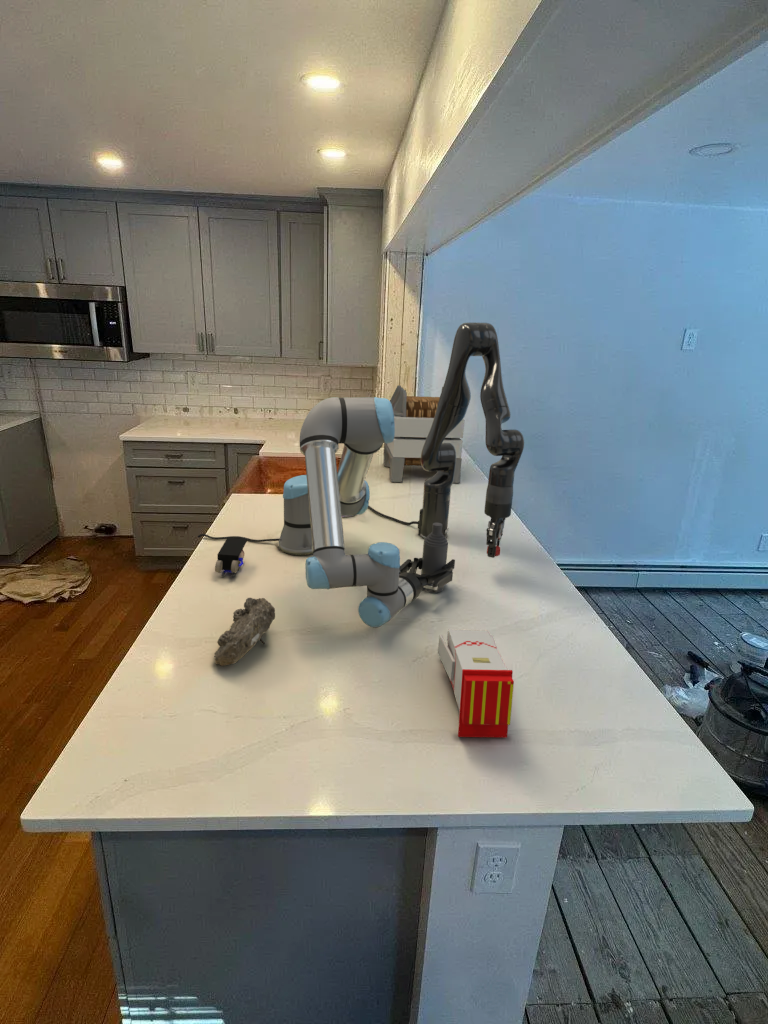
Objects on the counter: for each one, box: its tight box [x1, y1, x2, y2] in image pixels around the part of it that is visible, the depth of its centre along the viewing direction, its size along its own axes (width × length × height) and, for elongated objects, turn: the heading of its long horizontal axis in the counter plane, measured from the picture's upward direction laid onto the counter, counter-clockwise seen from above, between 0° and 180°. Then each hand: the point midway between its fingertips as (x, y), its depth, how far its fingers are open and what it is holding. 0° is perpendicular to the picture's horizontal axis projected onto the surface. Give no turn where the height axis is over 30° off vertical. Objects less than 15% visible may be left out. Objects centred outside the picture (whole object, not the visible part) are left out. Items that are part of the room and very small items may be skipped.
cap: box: [486, 545, 501, 557], centre depth 167 cm, size 4×4×2 cm
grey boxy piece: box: [383, 384, 465, 484], centre depth 268 cm, size 34×33×41 cm
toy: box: [437, 628, 515, 738], centre depth 117 cm, size 12×13×30 cm
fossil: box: [214, 597, 276, 667], centre depth 130 cm, size 22×10×15 cm
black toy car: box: [214, 538, 248, 578], centre depth 166 cm, size 7×8×15 cm
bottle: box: [420, 523, 449, 594], centre depth 159 cm, size 7×7×19 cm
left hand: (441, 560), depth 164 cm, fingers closed on bottle, 7 cm apart
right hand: (492, 554), depth 168 cm, fingers closed on cap, 3 cm apart
